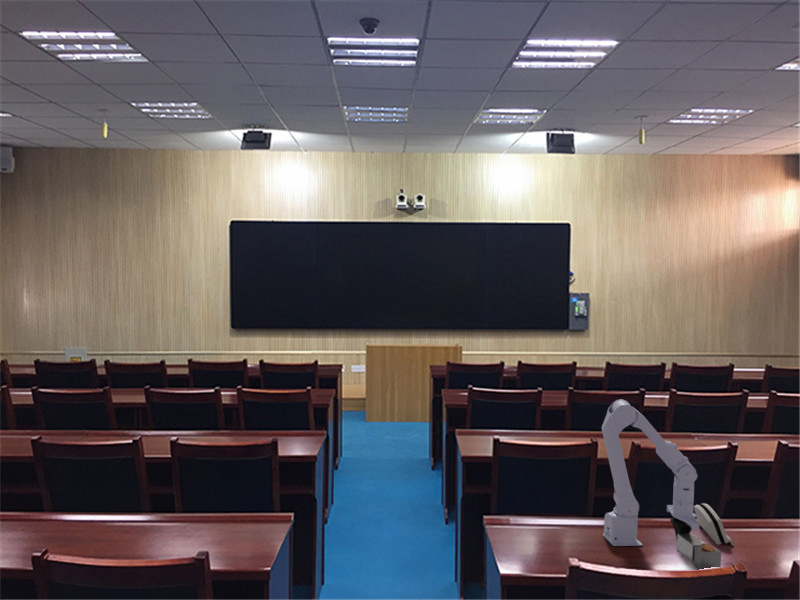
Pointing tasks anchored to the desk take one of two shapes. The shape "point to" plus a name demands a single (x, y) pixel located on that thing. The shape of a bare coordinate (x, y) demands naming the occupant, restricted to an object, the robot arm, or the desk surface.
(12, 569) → the desk surface
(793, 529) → the desk surface
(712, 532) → the grey black curved block
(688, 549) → the lock
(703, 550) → the coupler
